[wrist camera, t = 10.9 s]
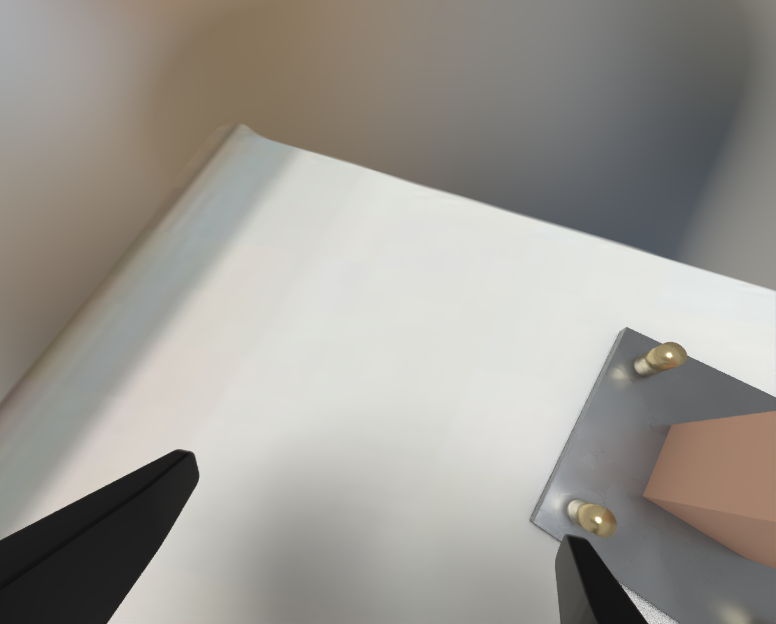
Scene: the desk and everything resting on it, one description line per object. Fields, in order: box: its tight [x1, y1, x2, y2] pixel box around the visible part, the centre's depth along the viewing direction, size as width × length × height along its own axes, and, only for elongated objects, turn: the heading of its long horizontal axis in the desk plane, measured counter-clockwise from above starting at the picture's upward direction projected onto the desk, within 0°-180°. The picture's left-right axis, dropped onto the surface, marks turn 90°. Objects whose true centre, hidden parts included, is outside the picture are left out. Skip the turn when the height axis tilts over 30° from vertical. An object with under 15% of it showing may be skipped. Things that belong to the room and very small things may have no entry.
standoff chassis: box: [530, 327, 776, 624], centre depth 17 cm, size 12×12×3 cm
